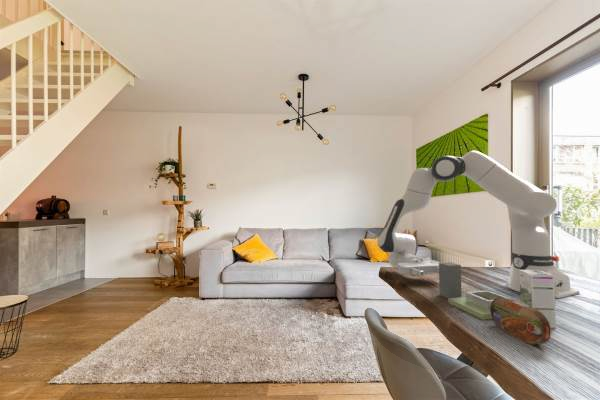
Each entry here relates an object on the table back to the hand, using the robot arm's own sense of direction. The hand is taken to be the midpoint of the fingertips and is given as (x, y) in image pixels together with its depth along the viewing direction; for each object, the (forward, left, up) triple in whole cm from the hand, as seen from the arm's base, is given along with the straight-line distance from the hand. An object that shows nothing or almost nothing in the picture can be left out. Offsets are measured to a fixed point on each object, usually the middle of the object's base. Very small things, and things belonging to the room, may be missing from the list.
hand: (432, 272), depth 107 cm
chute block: (0, +10, -7) cm, 12 cm away
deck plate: (-3, +22, -6) cm, 23 cm away
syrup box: (-8, +34, -7) cm, 35 cm away
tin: (+4, +39, -7) cm, 39 cm away
